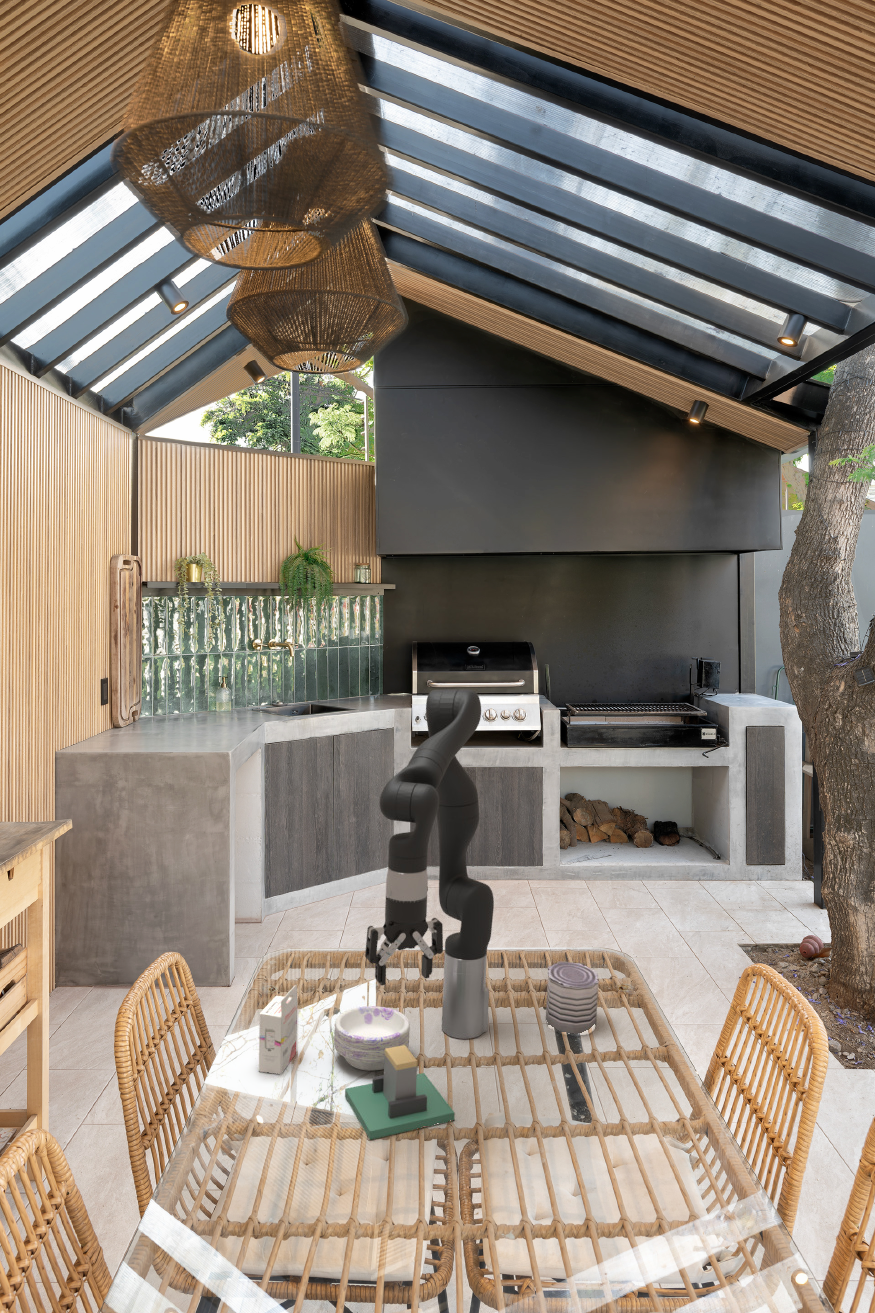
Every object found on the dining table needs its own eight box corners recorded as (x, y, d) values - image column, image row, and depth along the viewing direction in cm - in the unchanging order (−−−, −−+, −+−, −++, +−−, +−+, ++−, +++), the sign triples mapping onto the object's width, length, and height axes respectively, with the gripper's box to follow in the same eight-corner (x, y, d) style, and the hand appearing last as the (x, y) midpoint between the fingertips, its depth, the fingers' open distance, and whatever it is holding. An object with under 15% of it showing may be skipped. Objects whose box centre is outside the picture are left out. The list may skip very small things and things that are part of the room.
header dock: (423, 1080, 164) (424, 1060, 164) (454, 1120, 152) (455, 1099, 151) (344, 1096, 158) (345, 1075, 158) (369, 1140, 145) (370, 1117, 145)
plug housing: (403, 1089, 158) (404, 1045, 158) (415, 1106, 153) (417, 1060, 152) (383, 1093, 157) (384, 1048, 156) (394, 1111, 151) (396, 1065, 151)
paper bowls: (397, 1036, 181) (398, 1000, 181) (417, 1074, 167) (419, 1034, 166) (327, 1045, 176) (328, 1008, 176) (341, 1084, 162) (342, 1044, 162)
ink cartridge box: (274, 1050, 174) (276, 980, 173) (296, 1053, 173) (299, 983, 172) (256, 1072, 165) (259, 998, 164) (280, 1075, 164) (283, 1001, 163)
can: (590, 1013, 196) (593, 962, 195) (601, 1037, 184) (604, 983, 184) (541, 1012, 195) (543, 961, 195) (549, 1036, 184) (551, 982, 183)
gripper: (434, 882, 159) (431, 966, 160) (362, 889, 153) (359, 977, 154) (451, 894, 152) (447, 983, 153) (376, 903, 146) (373, 995, 147)
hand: (403, 980), depth 154 cm, fingers open, 8 cm apart
